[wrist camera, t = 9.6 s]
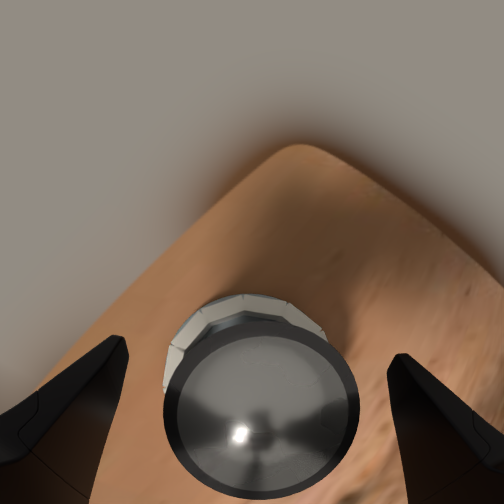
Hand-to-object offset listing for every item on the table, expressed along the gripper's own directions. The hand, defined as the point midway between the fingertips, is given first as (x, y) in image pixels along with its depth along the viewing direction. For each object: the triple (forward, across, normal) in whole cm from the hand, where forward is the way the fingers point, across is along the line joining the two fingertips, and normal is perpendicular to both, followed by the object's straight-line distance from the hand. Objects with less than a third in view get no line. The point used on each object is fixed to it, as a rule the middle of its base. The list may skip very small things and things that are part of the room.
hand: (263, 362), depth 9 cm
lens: (+5, 0, +7) cm, 8 cm away
